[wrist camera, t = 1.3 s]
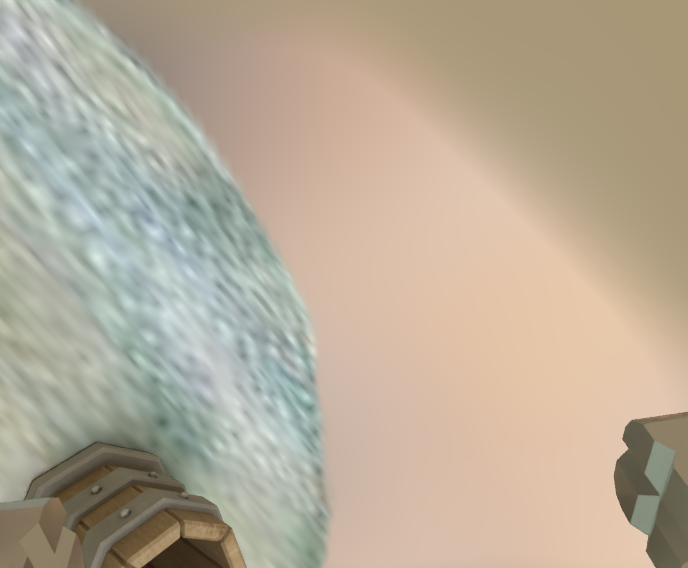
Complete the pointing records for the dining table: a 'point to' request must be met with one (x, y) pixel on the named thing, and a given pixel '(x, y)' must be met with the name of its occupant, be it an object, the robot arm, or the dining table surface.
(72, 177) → the dining table surface
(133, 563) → the tankard
